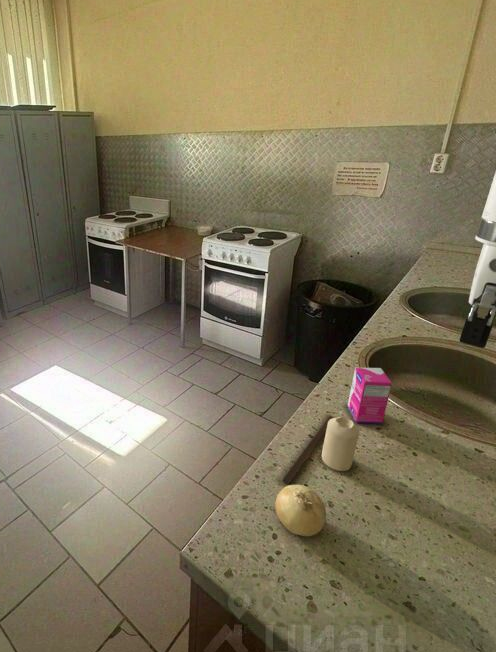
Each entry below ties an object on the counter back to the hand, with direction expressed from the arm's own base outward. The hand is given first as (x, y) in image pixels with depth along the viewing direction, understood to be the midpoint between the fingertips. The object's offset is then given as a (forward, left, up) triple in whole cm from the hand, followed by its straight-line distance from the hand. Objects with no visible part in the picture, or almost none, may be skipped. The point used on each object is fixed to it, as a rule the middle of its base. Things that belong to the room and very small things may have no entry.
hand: (475, 333), depth 65 cm
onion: (+14, +28, -31) cm, 44 cm away
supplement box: (+14, -8, -31) cm, 34 cm away
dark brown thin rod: (+19, +10, -30) cm, 37 cm away
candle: (+14, +10, -31) cm, 35 cm away
